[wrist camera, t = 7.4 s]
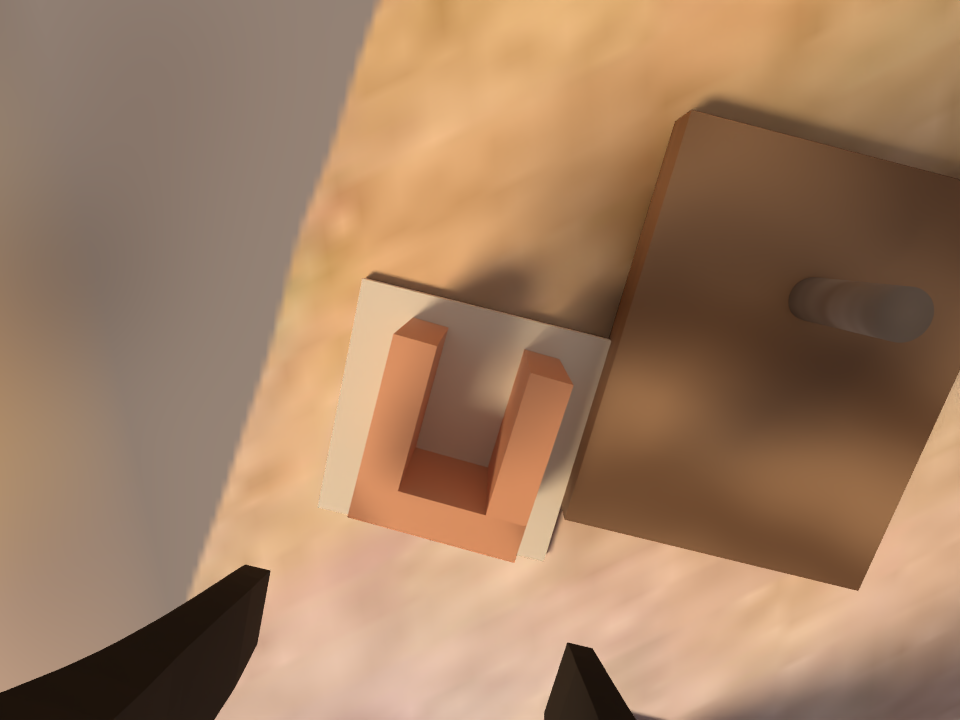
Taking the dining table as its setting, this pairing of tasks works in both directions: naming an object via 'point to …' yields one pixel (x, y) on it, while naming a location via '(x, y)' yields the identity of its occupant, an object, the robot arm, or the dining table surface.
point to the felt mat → (460, 391)
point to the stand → (774, 352)
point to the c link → (449, 481)
